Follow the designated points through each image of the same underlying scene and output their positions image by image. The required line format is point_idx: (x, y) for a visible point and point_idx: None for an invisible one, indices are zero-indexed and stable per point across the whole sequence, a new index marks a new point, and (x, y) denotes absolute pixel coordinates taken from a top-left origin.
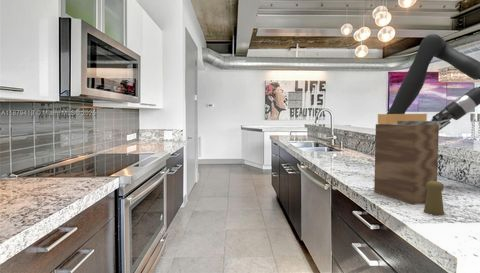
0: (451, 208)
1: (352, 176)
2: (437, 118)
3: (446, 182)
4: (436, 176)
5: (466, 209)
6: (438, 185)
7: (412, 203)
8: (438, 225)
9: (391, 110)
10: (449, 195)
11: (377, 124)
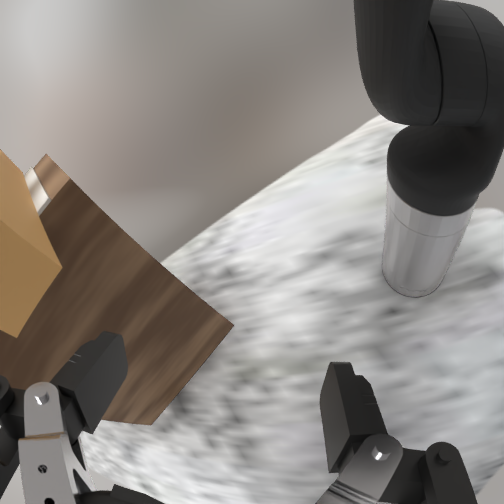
0: (113, 443)
1: (362, 173)
2: (2, 428)
3: (464, 443)
4: (102, 418)
5: (118, 469)
6: None
7: None
8: None
9: None
10: (234, 468)
11: (39, 162)
